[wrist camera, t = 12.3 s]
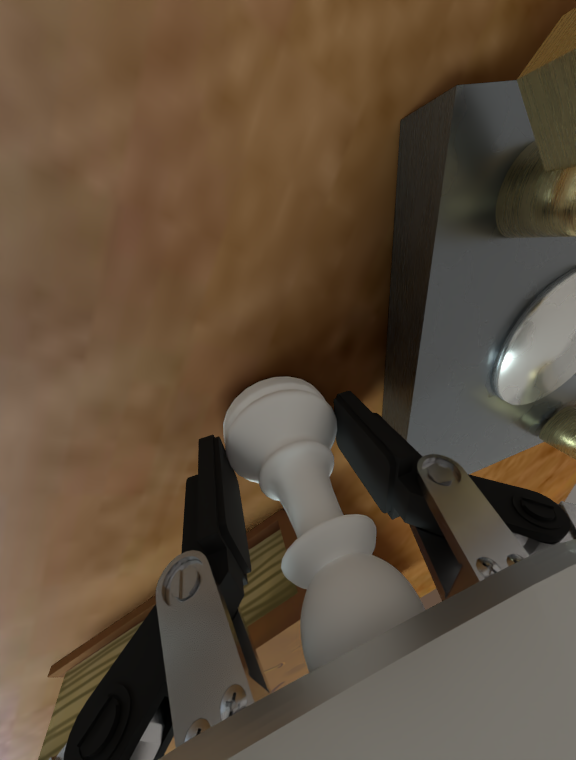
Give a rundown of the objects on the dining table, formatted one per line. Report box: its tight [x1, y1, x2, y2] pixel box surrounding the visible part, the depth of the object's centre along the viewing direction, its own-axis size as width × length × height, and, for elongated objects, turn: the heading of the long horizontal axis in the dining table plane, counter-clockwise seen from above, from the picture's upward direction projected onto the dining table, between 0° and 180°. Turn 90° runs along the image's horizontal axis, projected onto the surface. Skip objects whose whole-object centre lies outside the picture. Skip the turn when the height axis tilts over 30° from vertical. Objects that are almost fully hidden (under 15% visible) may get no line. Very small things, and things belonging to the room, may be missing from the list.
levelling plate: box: [382, 7, 576, 475], centre depth 11 cm, size 18×16×5 cm
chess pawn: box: [223, 376, 425, 673], centre depth 8 cm, size 5×5×9 cm
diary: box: [38, 510, 309, 760], centre depth 20 cm, size 23×19×6 cm
